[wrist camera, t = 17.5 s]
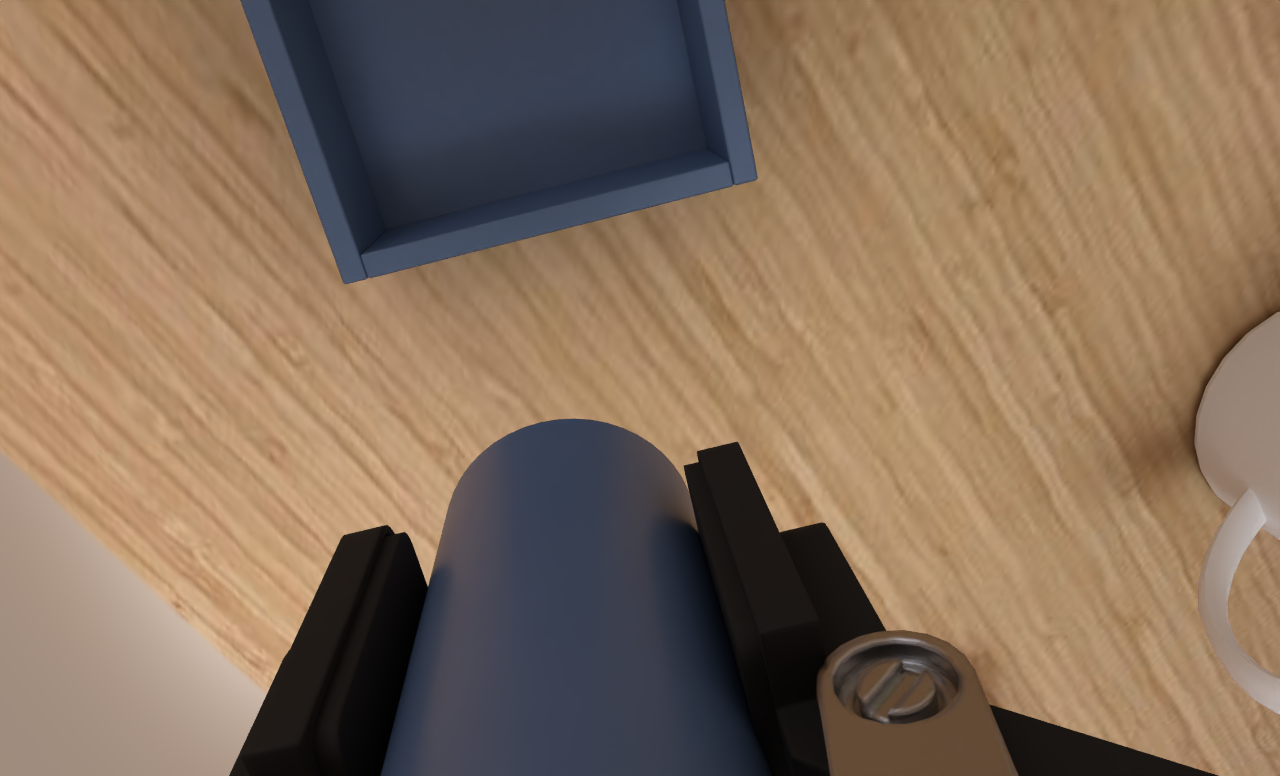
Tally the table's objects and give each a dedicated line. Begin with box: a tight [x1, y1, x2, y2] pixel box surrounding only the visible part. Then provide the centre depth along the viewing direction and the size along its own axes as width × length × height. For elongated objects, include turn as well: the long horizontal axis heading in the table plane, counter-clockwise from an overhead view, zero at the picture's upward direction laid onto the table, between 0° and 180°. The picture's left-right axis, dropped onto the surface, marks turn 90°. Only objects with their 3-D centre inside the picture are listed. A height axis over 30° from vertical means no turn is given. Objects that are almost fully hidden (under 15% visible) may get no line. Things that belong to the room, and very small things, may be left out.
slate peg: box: [380, 419, 772, 776], centre depth 10 cm, size 4×4×7 cm
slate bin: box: [240, 0, 758, 284], centre depth 22 cm, size 10×10×4 cm
